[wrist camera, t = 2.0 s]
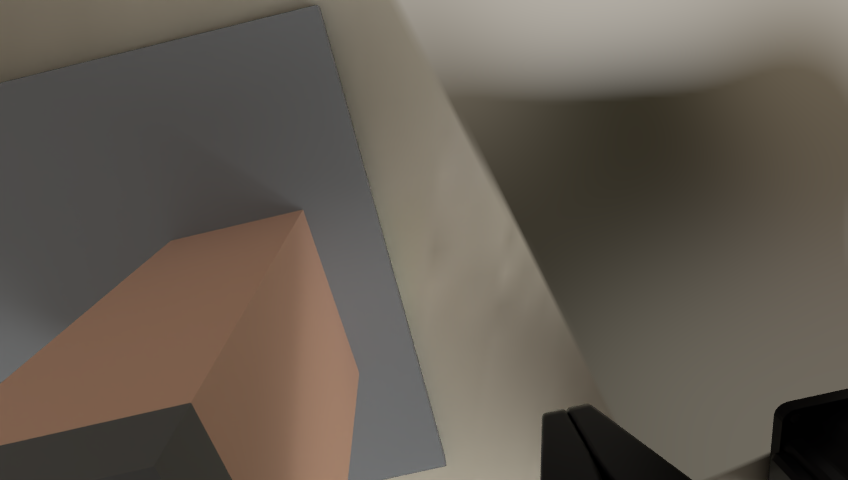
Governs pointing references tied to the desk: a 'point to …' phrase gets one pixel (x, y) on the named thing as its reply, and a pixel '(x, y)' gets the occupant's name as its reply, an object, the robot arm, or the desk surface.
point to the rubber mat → (204, 198)
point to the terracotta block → (194, 370)
